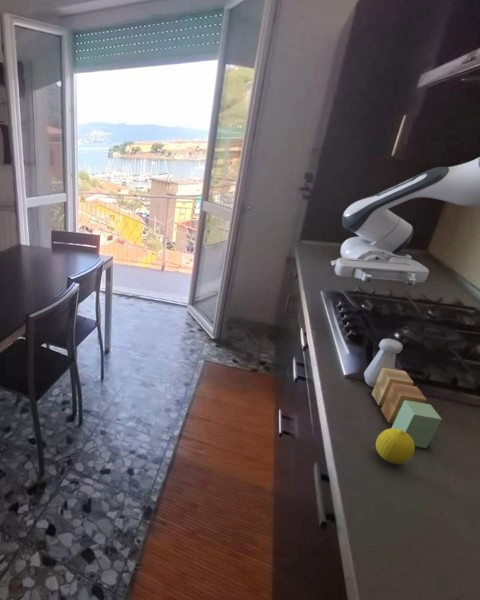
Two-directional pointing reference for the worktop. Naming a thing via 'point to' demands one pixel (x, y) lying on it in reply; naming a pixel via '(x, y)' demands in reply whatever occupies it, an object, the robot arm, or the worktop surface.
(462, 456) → the worktop surface
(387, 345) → the salt shaker
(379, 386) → the block
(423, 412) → the block
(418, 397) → the block
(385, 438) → the lemon
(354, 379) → the worktop surface
